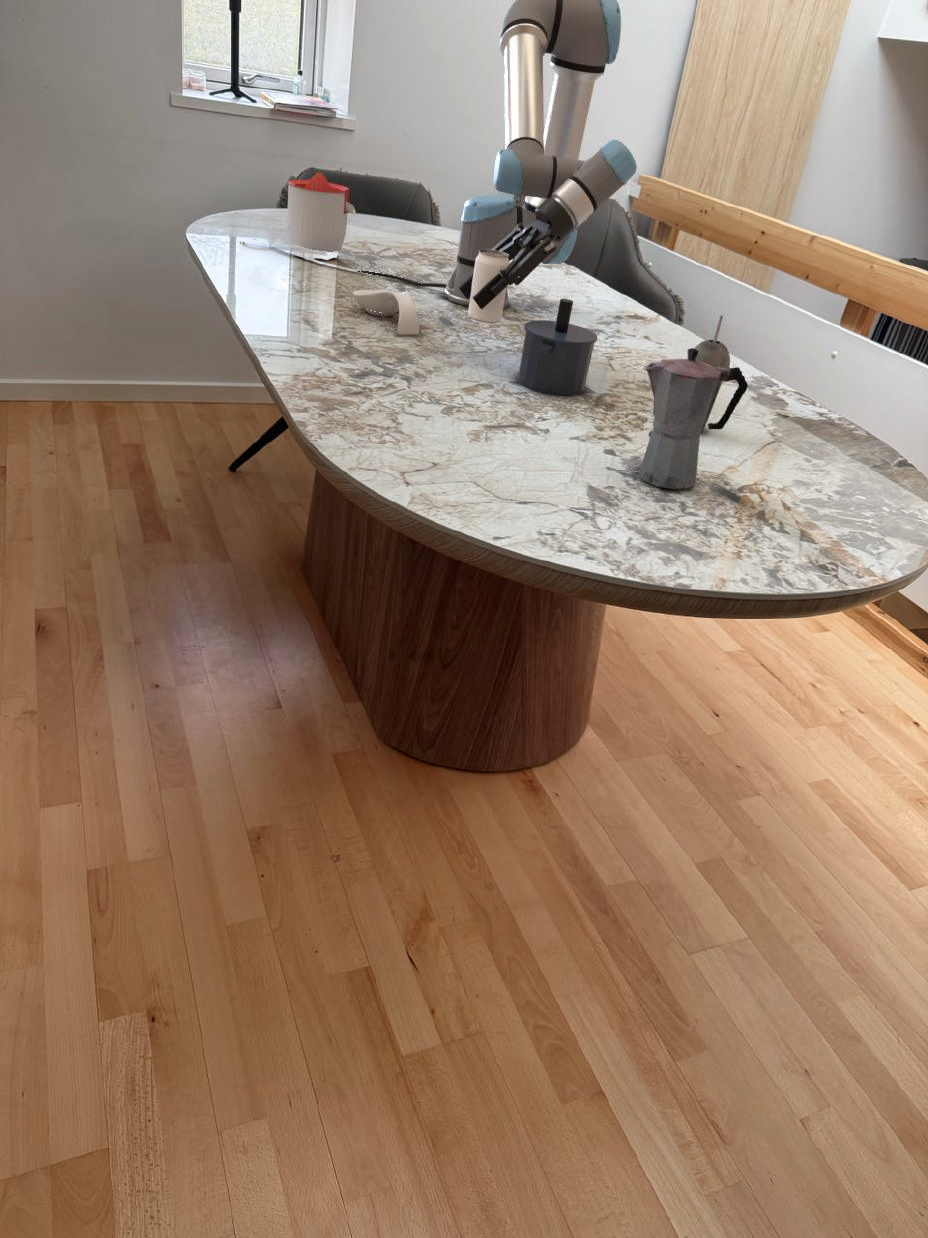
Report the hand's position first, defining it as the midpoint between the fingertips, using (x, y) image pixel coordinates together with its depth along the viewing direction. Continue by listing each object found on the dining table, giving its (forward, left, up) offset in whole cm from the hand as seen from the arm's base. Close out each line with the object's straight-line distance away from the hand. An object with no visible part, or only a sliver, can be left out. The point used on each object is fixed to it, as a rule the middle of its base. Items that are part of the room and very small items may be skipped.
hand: (469, 298), depth 174 cm
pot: (+19, +1, -12) cm, 22 cm away
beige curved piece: (-23, +15, -12) cm, 30 cm away
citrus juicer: (-65, +55, -12) cm, 86 cm away
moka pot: (+49, -30, -12) cm, 59 cm away
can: (+3, +3, -4) cm, 5 cm away
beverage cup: (+47, -3, -12) cm, 48 cm away
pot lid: (+19, +1, -2) cm, 19 cm away
